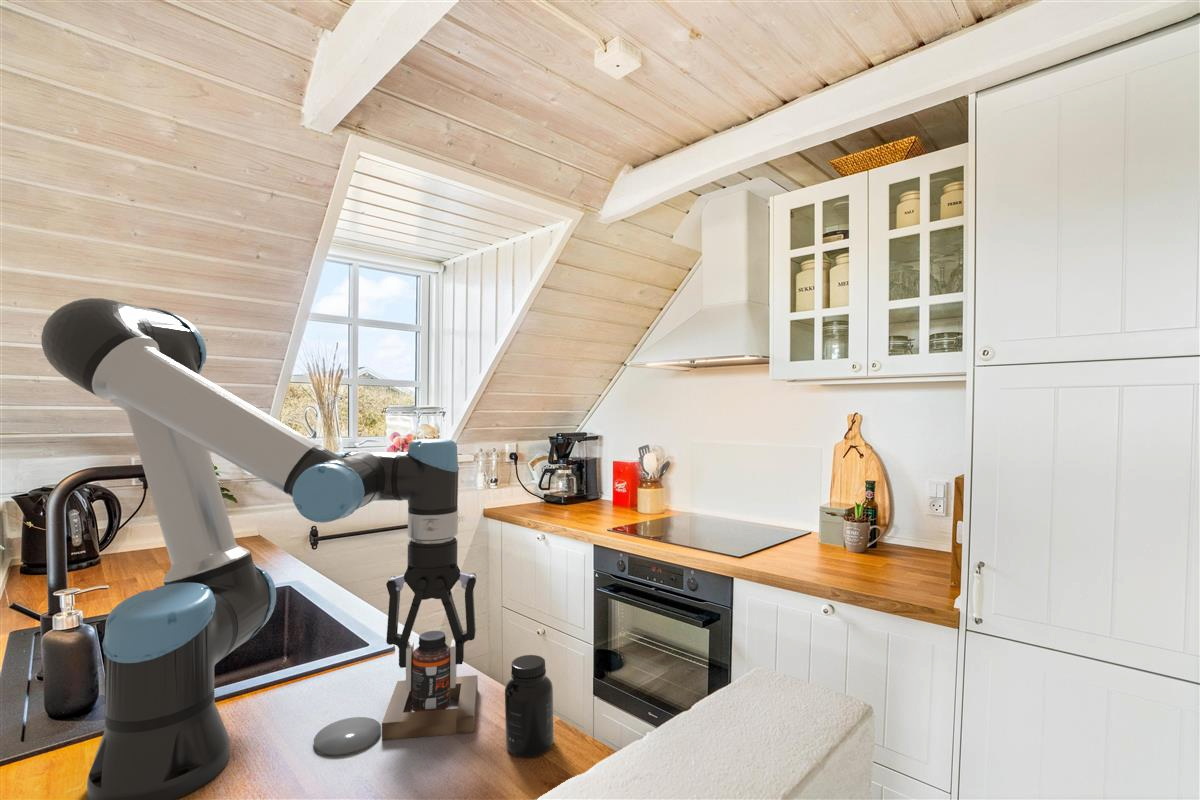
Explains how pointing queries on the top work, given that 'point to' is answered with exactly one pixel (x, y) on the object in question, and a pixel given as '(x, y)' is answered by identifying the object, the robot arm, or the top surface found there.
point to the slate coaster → (347, 736)
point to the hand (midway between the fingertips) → (431, 685)
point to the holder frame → (431, 713)
